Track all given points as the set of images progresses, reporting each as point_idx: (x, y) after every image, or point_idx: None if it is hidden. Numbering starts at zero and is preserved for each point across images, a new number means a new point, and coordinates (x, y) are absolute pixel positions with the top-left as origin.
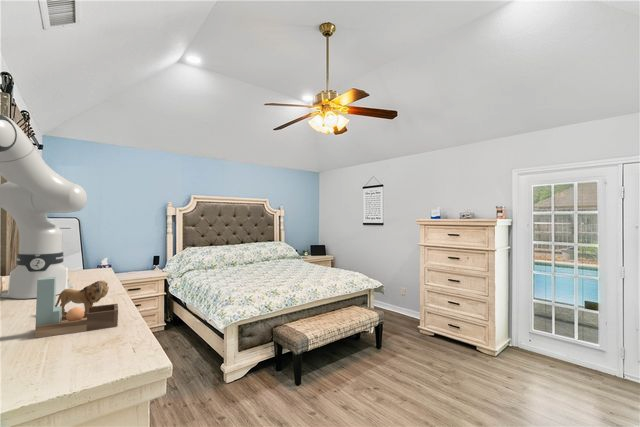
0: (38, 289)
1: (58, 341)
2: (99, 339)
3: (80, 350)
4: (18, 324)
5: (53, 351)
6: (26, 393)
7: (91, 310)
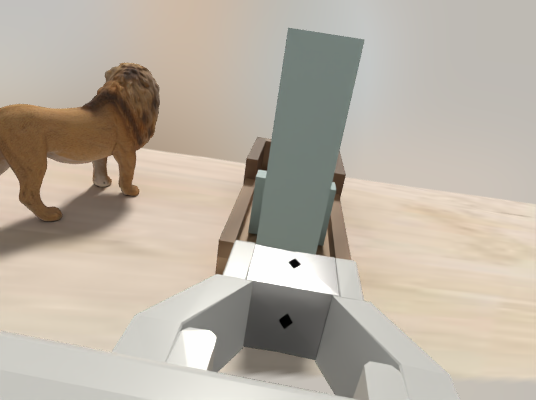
0: (350, 96)
1: (408, 271)
2: (424, 226)
3: (503, 256)
4: (28, 325)
5: (502, 288)
6: None
7: (257, 168)
